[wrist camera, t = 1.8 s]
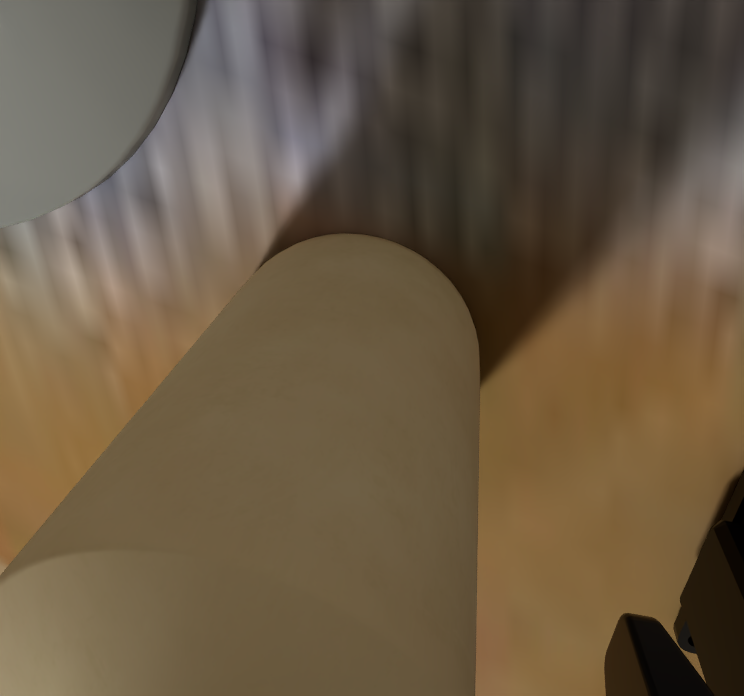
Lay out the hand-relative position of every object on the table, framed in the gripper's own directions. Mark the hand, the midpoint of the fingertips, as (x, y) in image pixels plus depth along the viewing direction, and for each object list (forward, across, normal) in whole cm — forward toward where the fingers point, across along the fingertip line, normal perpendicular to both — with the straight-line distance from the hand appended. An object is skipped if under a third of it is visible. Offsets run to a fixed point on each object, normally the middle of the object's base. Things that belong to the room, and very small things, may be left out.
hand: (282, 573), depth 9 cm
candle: (+6, 0, 0) cm, 7 cm away
